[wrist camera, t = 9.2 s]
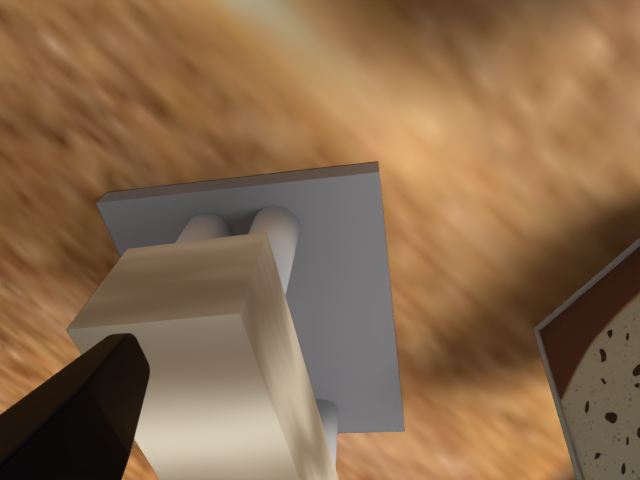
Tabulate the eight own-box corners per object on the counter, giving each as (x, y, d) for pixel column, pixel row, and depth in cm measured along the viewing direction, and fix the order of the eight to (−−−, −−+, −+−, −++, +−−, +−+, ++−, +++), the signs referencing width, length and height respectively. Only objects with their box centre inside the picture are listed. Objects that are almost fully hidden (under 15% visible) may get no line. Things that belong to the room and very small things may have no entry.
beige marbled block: (344, 501, 24) (341, 594, 20) (249, 503, 25) (231, 592, 21) (266, 231, 16) (239, 313, 12) (127, 248, 16) (66, 329, 13)
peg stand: (378, 161, 19) (381, 224, 15) (403, 416, 28) (410, 502, 23) (106, 192, 21) (42, 256, 17) (207, 422, 29) (181, 503, 25)
